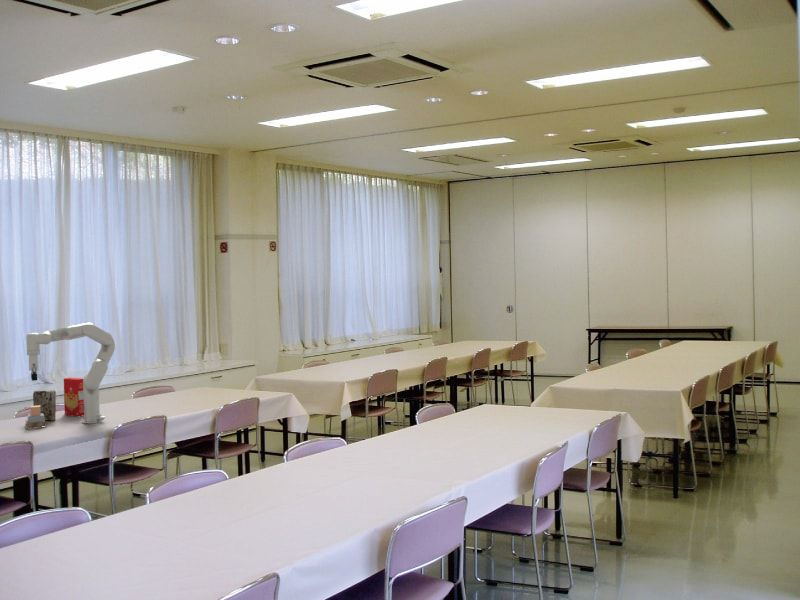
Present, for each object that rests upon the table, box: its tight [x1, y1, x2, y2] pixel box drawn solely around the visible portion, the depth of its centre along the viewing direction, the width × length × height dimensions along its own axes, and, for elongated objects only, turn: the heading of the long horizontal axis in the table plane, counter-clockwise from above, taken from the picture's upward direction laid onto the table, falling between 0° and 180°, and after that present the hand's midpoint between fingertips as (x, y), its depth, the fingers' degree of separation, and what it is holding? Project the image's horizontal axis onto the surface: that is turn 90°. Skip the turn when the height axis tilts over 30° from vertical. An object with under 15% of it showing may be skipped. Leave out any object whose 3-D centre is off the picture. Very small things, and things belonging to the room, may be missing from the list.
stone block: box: [32, 389, 57, 421], centre depth 535 cm, size 13×7×20 cm, turn 92°
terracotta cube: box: [30, 405, 41, 416], centre depth 514 cm, size 6×6×6 cm
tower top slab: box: [27, 413, 46, 423], centre depth 514 cm, size 9×9×4 cm
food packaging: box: [63, 377, 84, 417], centre depth 553 cm, size 15×5×25 cm, turn 60°
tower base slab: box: [25, 419, 46, 429], centre depth 514 cm, size 11×11×4 cm
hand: (34, 379), depth 513 cm, fingers open, 9 cm apart
